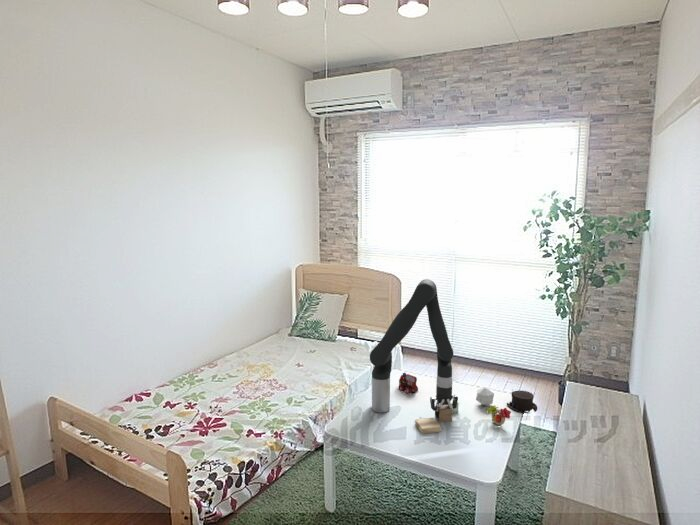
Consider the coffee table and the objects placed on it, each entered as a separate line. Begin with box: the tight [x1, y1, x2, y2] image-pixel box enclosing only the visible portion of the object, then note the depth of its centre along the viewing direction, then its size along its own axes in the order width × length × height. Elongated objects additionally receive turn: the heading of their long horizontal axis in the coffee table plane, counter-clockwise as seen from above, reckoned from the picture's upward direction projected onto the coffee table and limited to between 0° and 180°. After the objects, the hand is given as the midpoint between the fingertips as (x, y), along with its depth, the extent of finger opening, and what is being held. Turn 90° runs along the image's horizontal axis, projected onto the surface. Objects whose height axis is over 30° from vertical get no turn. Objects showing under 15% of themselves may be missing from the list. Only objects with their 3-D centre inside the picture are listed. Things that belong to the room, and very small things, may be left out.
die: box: [475, 387, 495, 406], centre depth 236 cm, size 8×9×10 cm
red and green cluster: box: [486, 405, 512, 426], centre depth 217 cm, size 6×11×9 cm, turn 44°
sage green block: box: [450, 399, 460, 413], centre depth 232 cm, size 5×5×5 cm
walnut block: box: [437, 405, 453, 423], centre depth 222 cm, size 6×6×6 cm
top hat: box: [506, 390, 538, 414], centre depth 235 cm, size 15×15×10 cm
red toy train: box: [397, 372, 419, 395], centre depth 255 cm, size 7×12×10 cm, turn 39°
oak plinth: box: [414, 417, 442, 435], centre depth 213 cm, size 9×9×2 cm
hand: (443, 417), depth 223 cm, fingers closed on walnut block, 6 cm apart
